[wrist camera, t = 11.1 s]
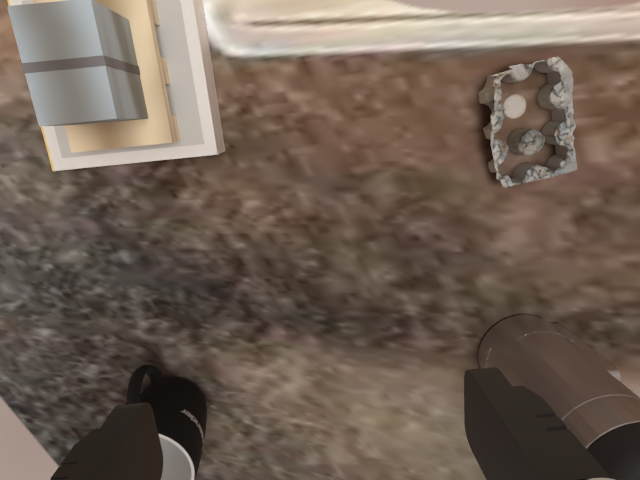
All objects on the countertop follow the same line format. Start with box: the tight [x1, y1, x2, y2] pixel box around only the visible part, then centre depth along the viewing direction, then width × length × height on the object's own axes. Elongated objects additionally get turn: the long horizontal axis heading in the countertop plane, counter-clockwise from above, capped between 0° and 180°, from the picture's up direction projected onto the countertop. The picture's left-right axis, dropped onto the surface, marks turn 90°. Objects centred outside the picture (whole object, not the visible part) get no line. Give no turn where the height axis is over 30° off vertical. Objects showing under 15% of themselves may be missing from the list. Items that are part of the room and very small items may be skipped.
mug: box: [127, 365, 207, 480], centre depth 43 cm, size 12×9×10 cm
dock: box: [7, 0, 225, 171], centre depth 37 cm, size 14×14×4 cm
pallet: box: [7, 0, 180, 153], centre depth 31 cm, size 8×11×8 cm
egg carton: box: [478, 57, 577, 188], centre depth 40 cm, size 11×8×4 cm
